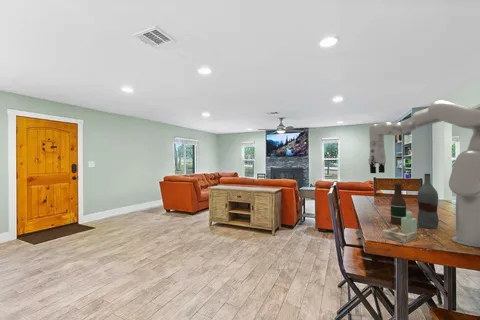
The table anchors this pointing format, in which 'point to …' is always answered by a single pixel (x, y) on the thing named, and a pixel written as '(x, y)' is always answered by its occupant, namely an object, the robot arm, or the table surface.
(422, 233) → the table surface
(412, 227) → the bottle
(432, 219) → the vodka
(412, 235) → the cradle
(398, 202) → the beer bottle
